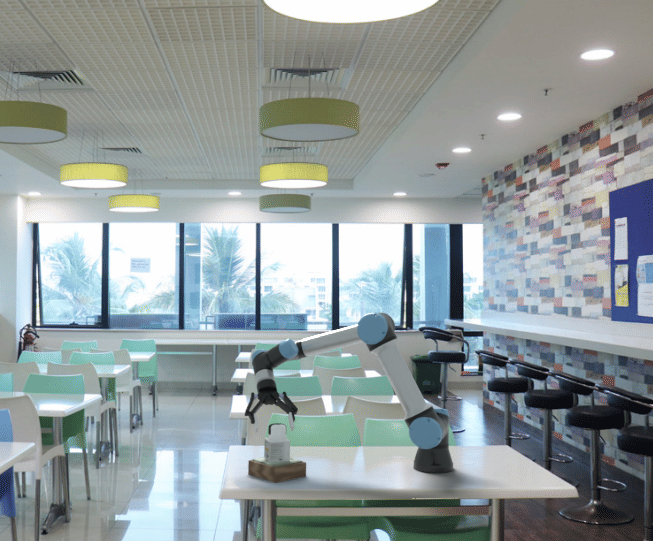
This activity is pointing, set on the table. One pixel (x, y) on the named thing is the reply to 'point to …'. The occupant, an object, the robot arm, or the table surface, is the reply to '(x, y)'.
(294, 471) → the block
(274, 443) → the container
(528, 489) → the table surface
